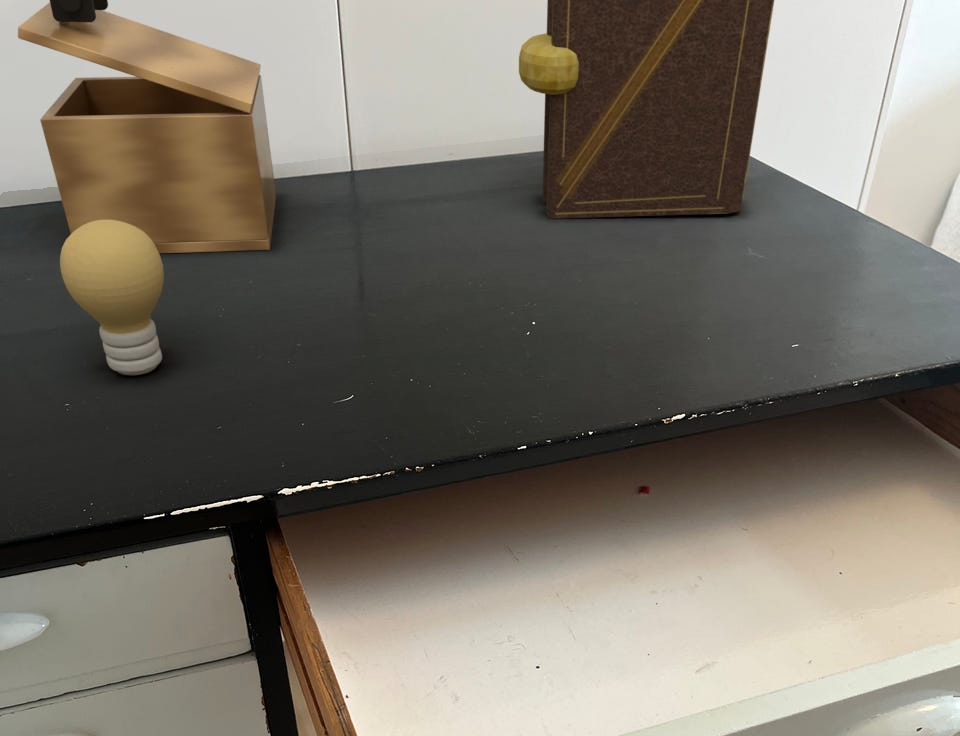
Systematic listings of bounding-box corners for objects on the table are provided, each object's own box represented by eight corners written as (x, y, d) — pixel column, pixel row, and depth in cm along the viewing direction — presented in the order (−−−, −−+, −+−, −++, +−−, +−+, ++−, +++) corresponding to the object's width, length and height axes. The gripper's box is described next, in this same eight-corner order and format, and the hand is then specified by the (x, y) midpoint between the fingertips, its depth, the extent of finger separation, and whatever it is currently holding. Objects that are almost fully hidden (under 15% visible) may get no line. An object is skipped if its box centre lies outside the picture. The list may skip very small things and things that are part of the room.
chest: (76, 256, 84) (39, 119, 77) (105, 202, 95) (75, 77, 88) (270, 249, 86) (251, 114, 79) (276, 197, 97) (260, 74, 90)
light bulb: (123, 343, 71) (88, 201, 65) (199, 355, 70) (171, 212, 63) (71, 380, 67) (27, 233, 60) (151, 394, 65) (115, 245, 59)
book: (728, 188, 99) (774, -121, 82) (749, 216, 92) (803, -113, 76) (514, 194, 98) (517, -115, 82) (520, 223, 92) (524, -107, 75)
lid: (17, 38, 73) (19, -47, 70) (57, 5, 84) (61, -70, 81) (250, 113, 79) (262, 38, 75) (259, 73, 90) (270, 5, 86)
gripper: (-5, -288, 73) (56, -2, 85) (-74, -306, 60) (9, 33, 72) (97, -282, 74) (143, 0, 86) (51, -299, 61) (113, 35, 73)
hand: (81, 12), depth 79 cm, fingers closed on lid, 5 cm apart
